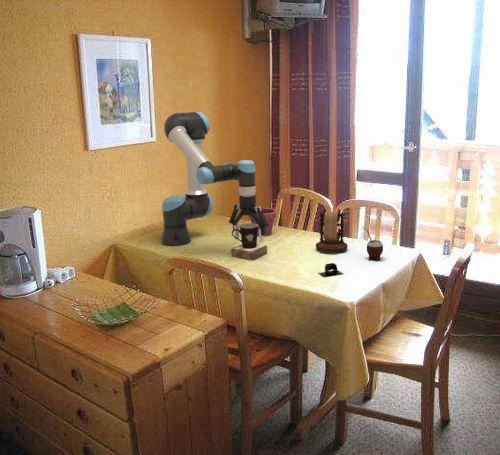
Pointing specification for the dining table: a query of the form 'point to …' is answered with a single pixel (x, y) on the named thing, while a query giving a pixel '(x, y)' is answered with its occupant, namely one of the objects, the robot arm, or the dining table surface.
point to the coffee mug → (248, 235)
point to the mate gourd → (374, 248)
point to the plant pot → (269, 215)
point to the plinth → (249, 252)
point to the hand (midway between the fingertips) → (249, 240)
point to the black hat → (330, 273)
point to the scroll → (331, 232)
